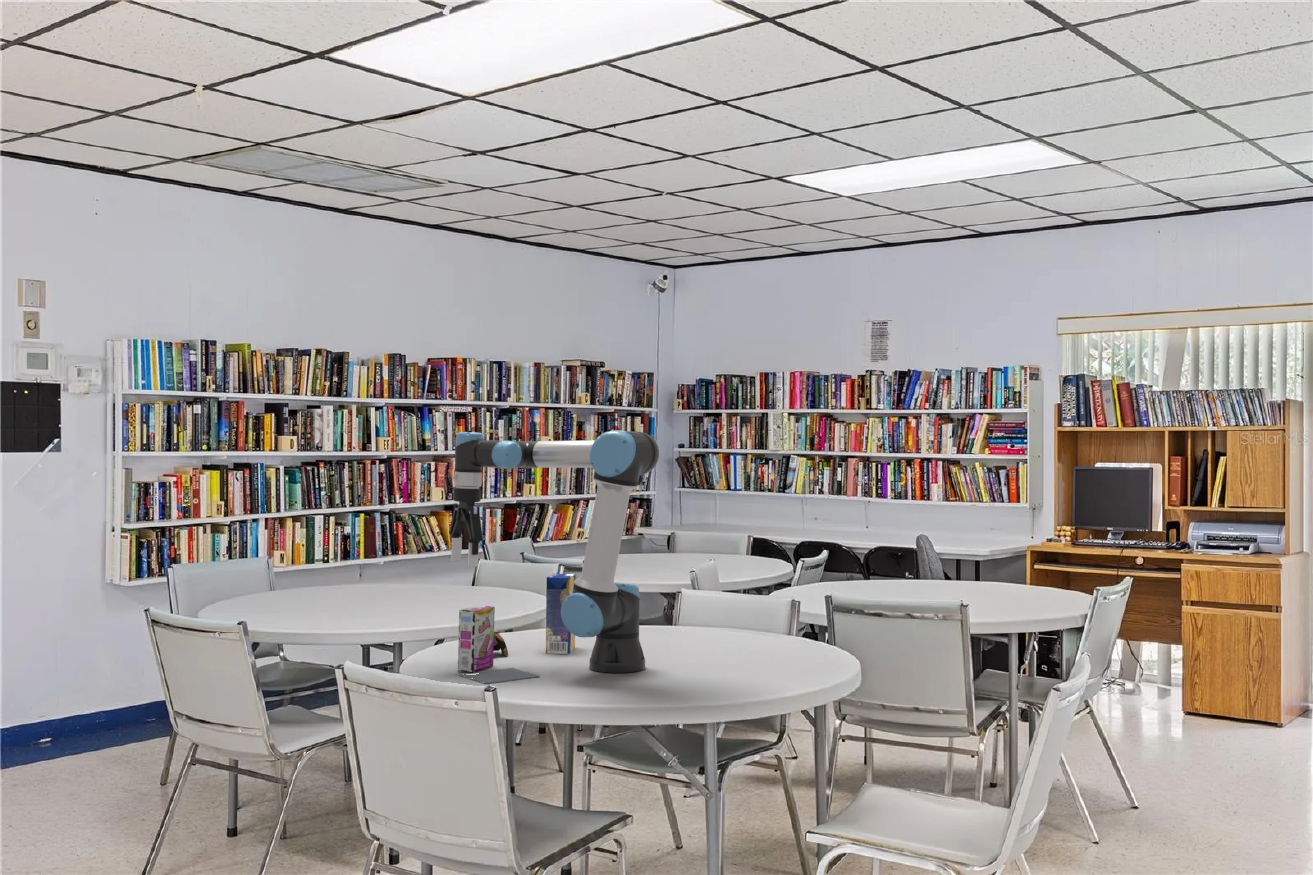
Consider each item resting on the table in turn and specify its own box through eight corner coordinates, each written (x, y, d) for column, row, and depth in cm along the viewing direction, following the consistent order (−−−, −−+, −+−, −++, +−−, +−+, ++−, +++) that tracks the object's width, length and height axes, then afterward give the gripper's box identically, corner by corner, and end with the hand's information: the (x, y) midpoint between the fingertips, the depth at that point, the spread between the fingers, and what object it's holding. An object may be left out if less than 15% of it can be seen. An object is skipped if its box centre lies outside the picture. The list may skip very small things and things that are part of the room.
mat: (540, 677, 294) (540, 675, 294) (485, 684, 284) (485, 683, 284) (512, 668, 305) (512, 667, 305) (459, 675, 295) (459, 674, 295)
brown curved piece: (507, 660, 320) (493, 636, 319) (479, 674, 322) (464, 650, 320) (515, 643, 332) (501, 619, 331) (487, 656, 334) (474, 632, 332)
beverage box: (574, 647, 340) (575, 574, 341) (569, 653, 329) (569, 577, 330) (552, 647, 341) (552, 573, 341) (545, 653, 330) (546, 577, 330)
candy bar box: (473, 673, 299) (474, 610, 299) (457, 672, 300) (457, 609, 301) (494, 666, 309) (495, 605, 309) (478, 665, 311) (479, 604, 311)
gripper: (439, 484, 325) (436, 558, 325) (470, 489, 303) (467, 569, 303) (464, 485, 329) (461, 558, 329) (496, 490, 307) (493, 568, 307)
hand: (464, 563), depth 316 cm, fingers open, 13 cm apart
